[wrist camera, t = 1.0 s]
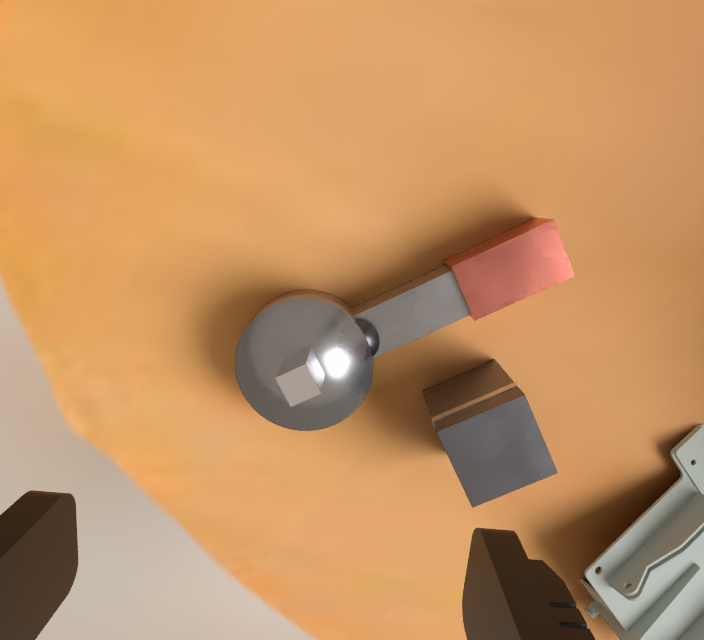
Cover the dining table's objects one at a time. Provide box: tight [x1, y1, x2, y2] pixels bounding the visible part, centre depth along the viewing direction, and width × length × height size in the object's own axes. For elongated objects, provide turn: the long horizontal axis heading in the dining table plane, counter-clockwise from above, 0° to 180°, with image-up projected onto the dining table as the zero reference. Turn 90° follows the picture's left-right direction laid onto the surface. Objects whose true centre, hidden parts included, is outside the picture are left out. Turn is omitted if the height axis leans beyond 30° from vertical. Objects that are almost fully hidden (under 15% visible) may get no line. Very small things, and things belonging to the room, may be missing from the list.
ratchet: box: [235, 218, 575, 431], centre depth 29 cm, size 20×8×6 cm, turn 115°
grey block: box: [423, 359, 558, 508], centre depth 30 cm, size 5×5×6 cm
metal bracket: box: [580, 424, 704, 640], centre depth 35 cm, size 14×6×15 cm
